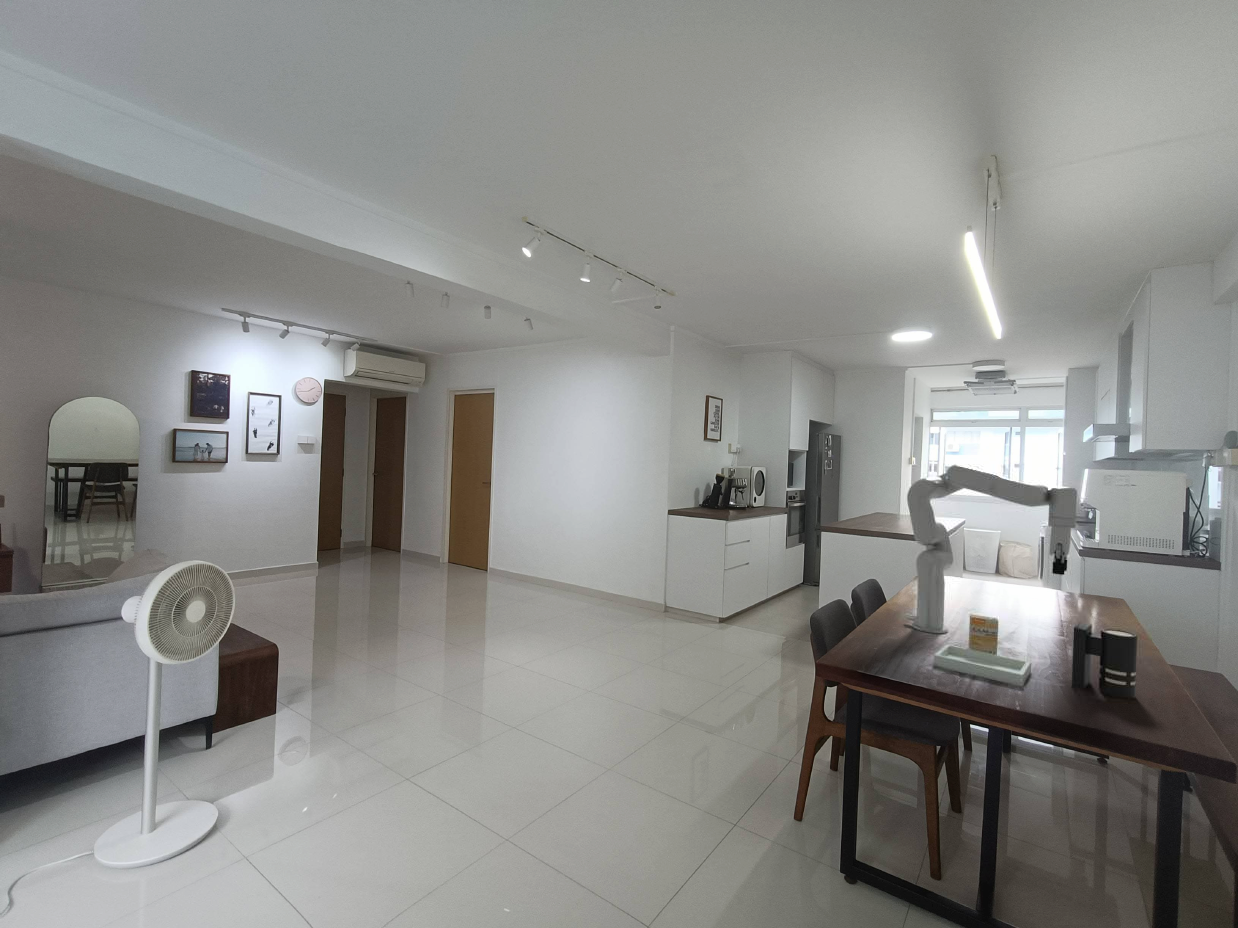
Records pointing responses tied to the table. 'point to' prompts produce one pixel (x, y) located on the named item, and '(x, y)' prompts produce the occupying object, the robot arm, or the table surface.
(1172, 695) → the table surface
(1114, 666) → the outdoor wall sconce
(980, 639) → the supplement box
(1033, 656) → the table surface
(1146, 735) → the table surface
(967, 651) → the tray
